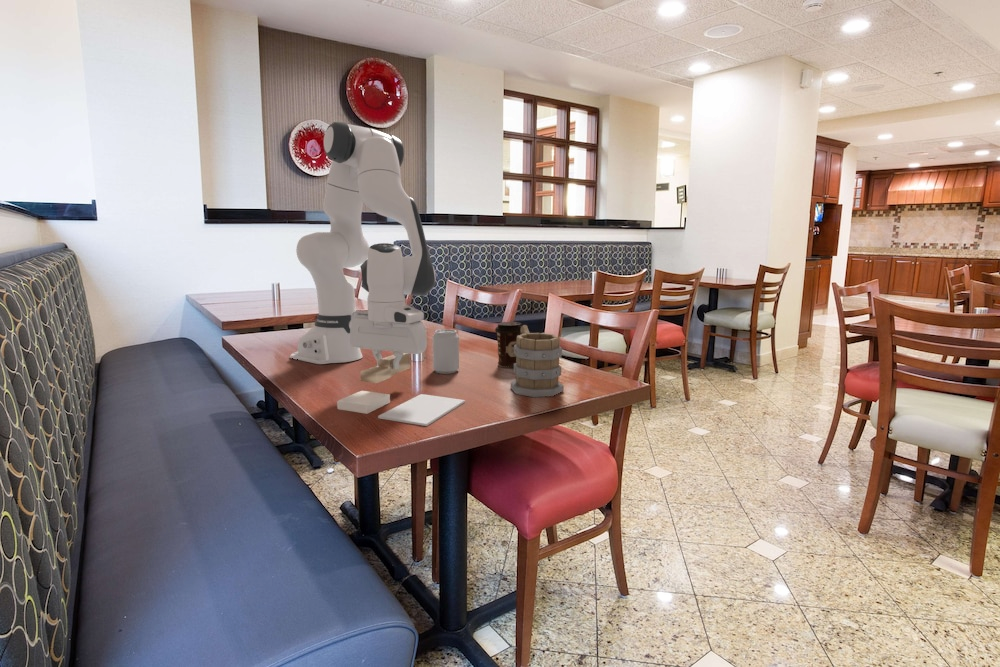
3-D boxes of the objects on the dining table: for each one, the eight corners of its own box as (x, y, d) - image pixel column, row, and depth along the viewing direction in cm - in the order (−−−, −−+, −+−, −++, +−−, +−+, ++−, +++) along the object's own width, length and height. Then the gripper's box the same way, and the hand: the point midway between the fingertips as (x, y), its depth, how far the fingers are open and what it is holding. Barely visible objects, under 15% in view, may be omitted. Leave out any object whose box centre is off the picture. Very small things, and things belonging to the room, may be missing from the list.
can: (457, 374, 155) (457, 332, 153) (431, 374, 155) (430, 332, 153) (460, 368, 163) (460, 328, 160) (434, 367, 163) (434, 327, 160)
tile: (361, 399, 133) (337, 410, 125) (361, 390, 132) (337, 400, 124) (390, 403, 130) (367, 415, 122) (389, 394, 129) (366, 405, 121)
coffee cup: (528, 364, 168) (529, 322, 165) (515, 370, 161) (515, 326, 158) (503, 361, 172) (504, 320, 170) (489, 366, 165) (489, 323, 163)
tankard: (568, 395, 136) (570, 336, 134) (518, 398, 134) (519, 337, 131) (545, 375, 156) (547, 323, 153) (501, 377, 153) (502, 324, 150)
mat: (377, 418, 119) (377, 416, 118) (421, 395, 135) (421, 393, 135) (426, 426, 114) (426, 423, 114) (465, 402, 130) (465, 400, 130)
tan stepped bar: (360, 381, 129) (360, 364, 128) (398, 366, 143) (398, 351, 143) (376, 383, 127) (376, 366, 126) (413, 368, 142) (413, 353, 141)
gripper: (343, 311, 133) (345, 366, 136) (415, 316, 126) (416, 375, 128) (359, 307, 139) (361, 361, 142) (429, 313, 131) (430, 369, 134)
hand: (388, 368), depth 135 cm, fingers closed on tan stepped bar, 2 cm apart
